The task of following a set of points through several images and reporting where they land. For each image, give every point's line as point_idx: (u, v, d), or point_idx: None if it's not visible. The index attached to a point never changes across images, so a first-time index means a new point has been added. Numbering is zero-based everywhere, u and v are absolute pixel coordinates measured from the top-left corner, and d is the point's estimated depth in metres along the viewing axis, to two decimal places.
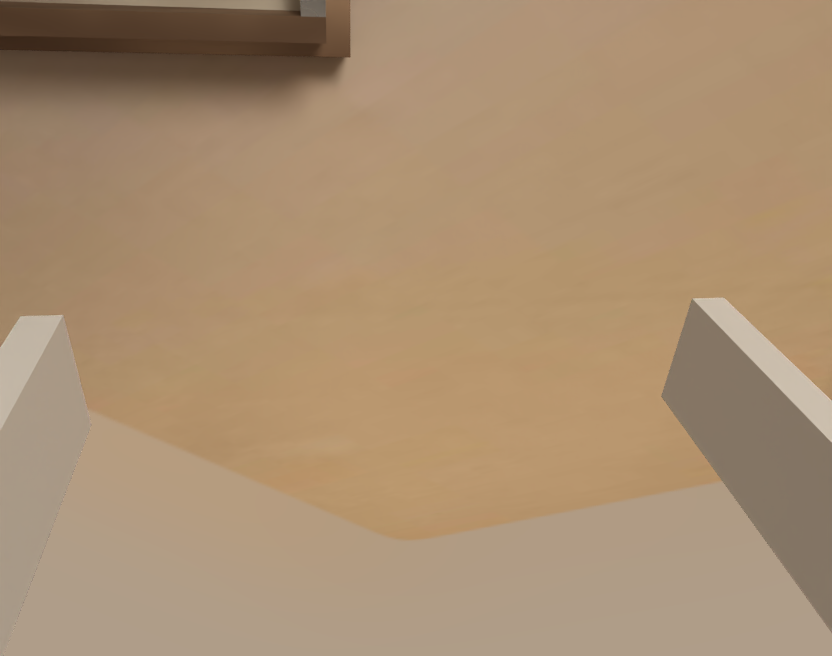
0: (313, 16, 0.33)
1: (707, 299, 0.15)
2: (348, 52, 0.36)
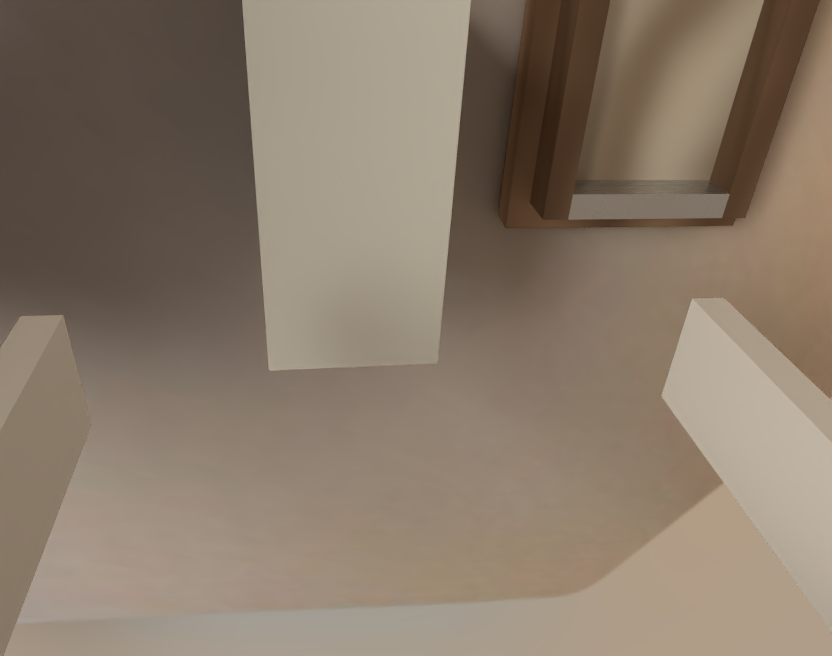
0: None
1: (707, 299, 0.15)
2: None
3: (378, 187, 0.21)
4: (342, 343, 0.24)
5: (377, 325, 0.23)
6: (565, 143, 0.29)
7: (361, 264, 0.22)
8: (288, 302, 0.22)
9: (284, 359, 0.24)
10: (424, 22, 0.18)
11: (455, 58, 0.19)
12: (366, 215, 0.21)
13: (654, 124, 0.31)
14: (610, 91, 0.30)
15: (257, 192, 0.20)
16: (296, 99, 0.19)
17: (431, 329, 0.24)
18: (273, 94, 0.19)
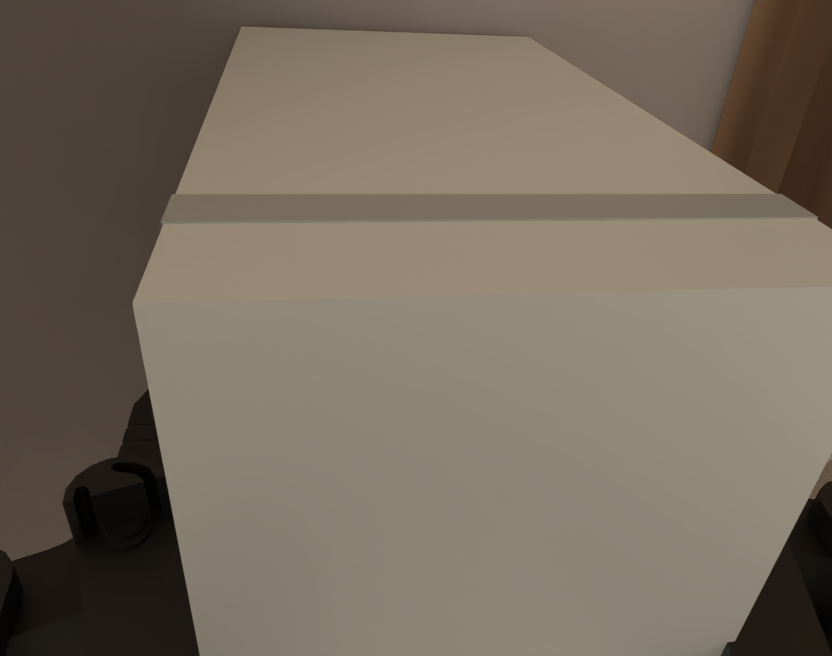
0: None
1: None
2: None
3: None
4: None
5: None
6: None
7: None
8: None
9: None
10: (754, 353, 0.06)
11: (816, 429, 0.06)
12: None
13: None
14: None
15: None
16: (331, 556, 0.06)
17: None
18: (259, 553, 0.06)
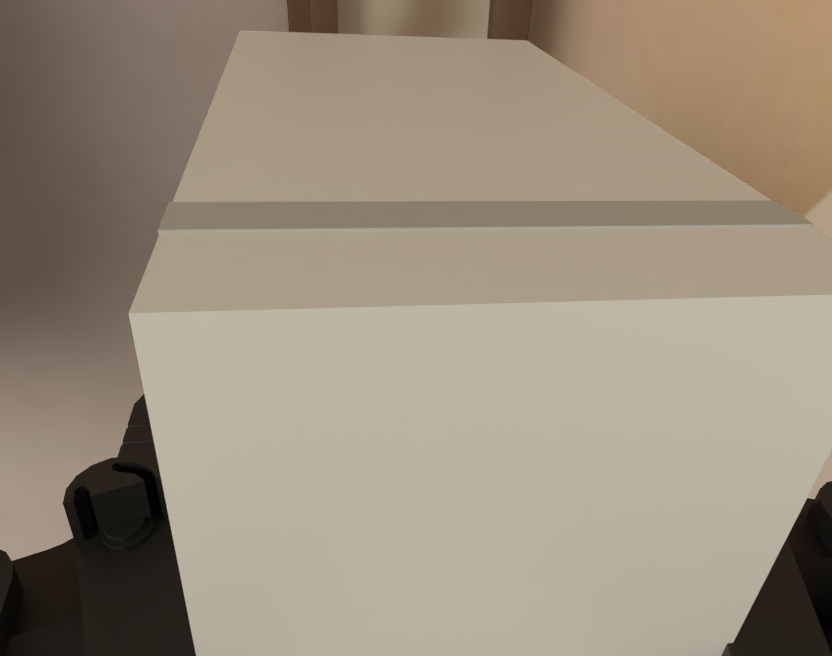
0: None
1: None
2: None
3: None
4: None
5: None
6: None
7: None
8: None
9: None
10: (749, 361, 0.06)
11: (812, 436, 0.06)
12: None
13: None
14: None
15: None
16: (328, 564, 0.06)
17: None
18: (256, 560, 0.06)
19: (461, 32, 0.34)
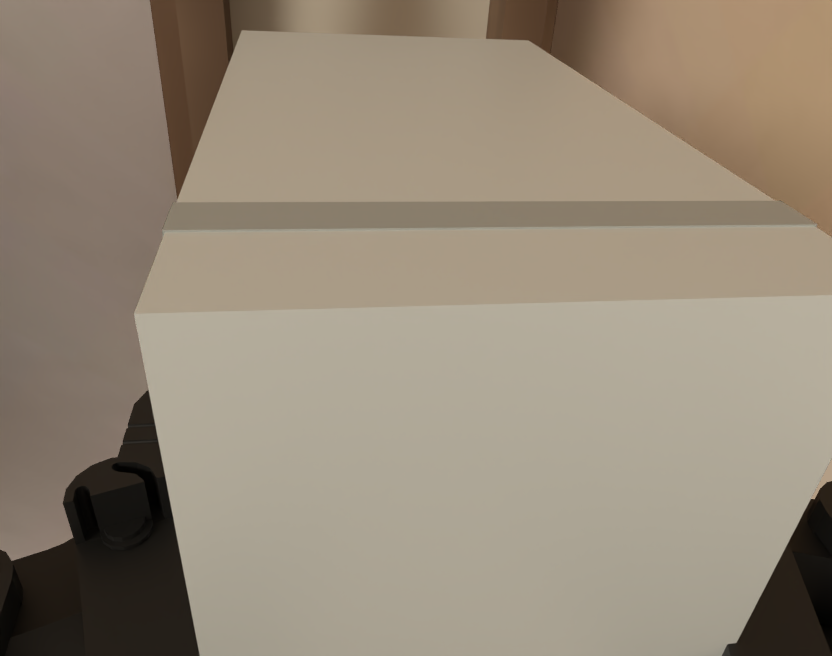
0: None
1: None
2: None
3: None
4: None
5: None
6: None
7: None
8: None
9: None
10: (754, 361, 0.06)
11: (815, 436, 0.06)
12: None
13: None
14: None
15: None
16: (332, 564, 0.06)
17: None
18: (261, 561, 0.06)
19: None
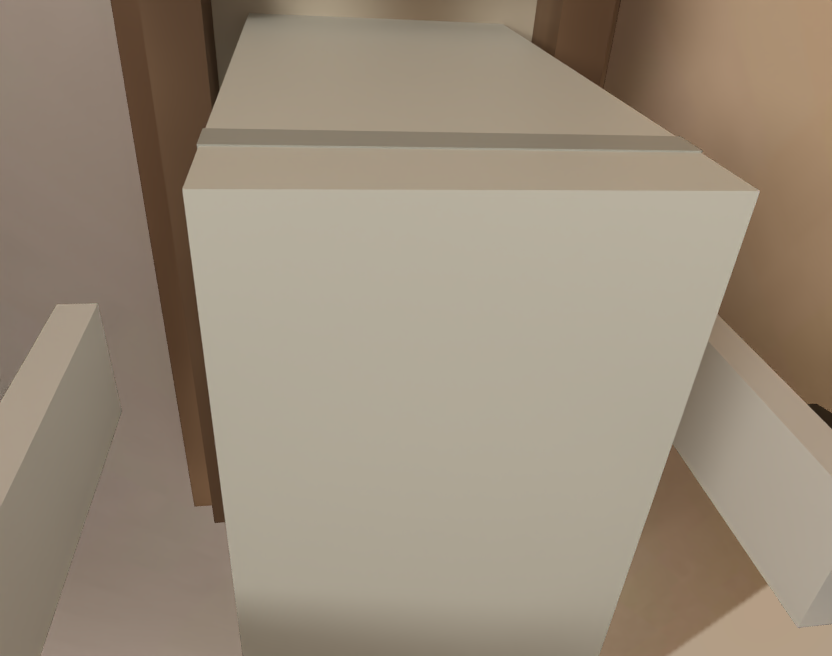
0: None
1: None
2: None
3: (491, 539, 0.10)
4: None
5: None
6: None
7: (443, 650, 0.11)
8: None
9: None
10: (640, 243, 0.07)
11: (695, 312, 0.08)
12: (460, 581, 0.10)
13: None
14: None
15: (234, 567, 0.09)
16: (324, 407, 0.08)
17: None
18: (269, 401, 0.08)
19: None
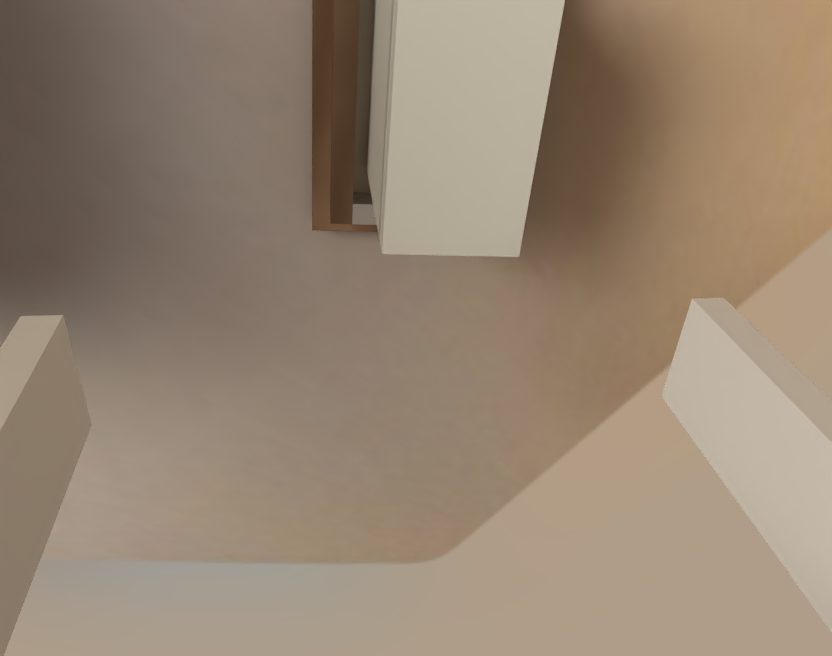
0: None
1: (706, 299, 0.15)
2: None
3: (487, 96, 0.26)
4: (443, 233, 0.29)
5: (473, 218, 0.29)
6: (339, 162, 0.36)
7: (467, 163, 0.27)
8: (405, 193, 0.28)
9: (395, 244, 0.29)
10: None
11: None
12: (475, 120, 0.26)
13: None
14: None
15: (393, 94, 0.25)
16: (433, 18, 0.24)
17: (516, 225, 0.29)
18: (416, 13, 0.24)
19: None
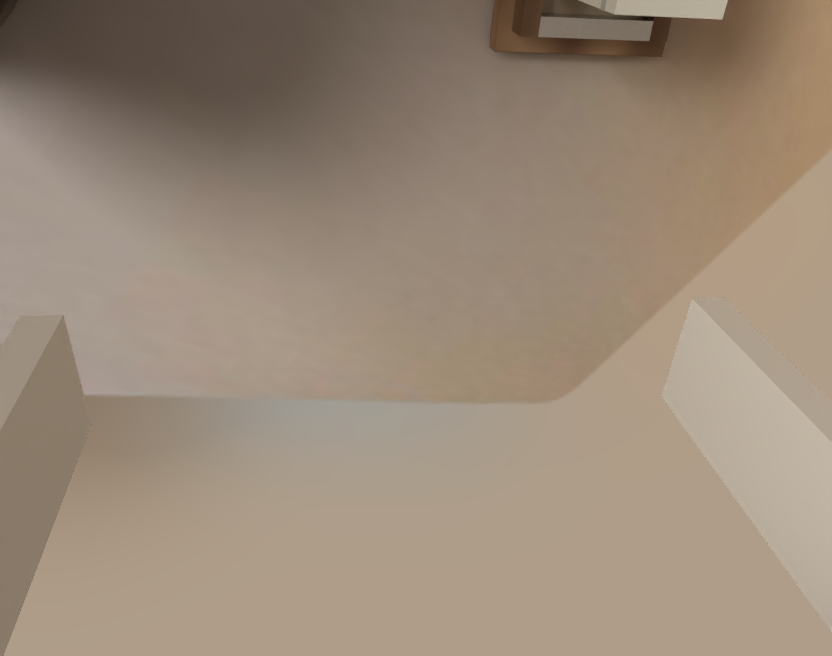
0: None
1: (707, 299, 0.15)
2: None
3: None
4: None
5: None
6: None
7: None
8: None
9: (626, 5, 0.34)
10: None
11: None
12: None
13: None
14: None
15: None
16: None
17: None
18: None
19: None
